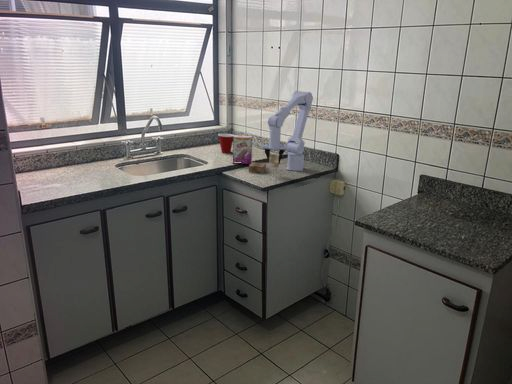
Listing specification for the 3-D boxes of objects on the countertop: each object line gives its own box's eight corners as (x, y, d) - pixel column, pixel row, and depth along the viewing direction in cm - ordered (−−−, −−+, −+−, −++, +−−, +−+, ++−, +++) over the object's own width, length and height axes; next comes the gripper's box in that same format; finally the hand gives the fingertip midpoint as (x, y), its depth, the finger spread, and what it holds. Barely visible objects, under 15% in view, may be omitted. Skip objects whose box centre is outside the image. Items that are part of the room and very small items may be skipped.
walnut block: (265, 169, 239) (266, 163, 237) (262, 173, 231) (262, 166, 230) (252, 168, 241) (252, 161, 239) (248, 172, 233) (248, 165, 232)
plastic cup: (237, 151, 274) (237, 133, 270) (228, 155, 266) (228, 136, 262) (224, 149, 280) (224, 131, 276) (214, 152, 271) (214, 134, 267)
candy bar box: (232, 163, 248) (232, 136, 242) (233, 161, 252) (234, 135, 247) (251, 164, 247) (251, 137, 241) (252, 162, 251) (252, 135, 246)
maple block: (279, 165, 228) (279, 154, 226) (278, 167, 224) (278, 156, 221) (269, 164, 229) (270, 154, 227) (268, 167, 224) (269, 156, 222)
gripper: (260, 139, 218) (259, 164, 223) (288, 140, 216) (286, 165, 221) (262, 136, 225) (261, 160, 229) (289, 137, 223) (287, 162, 228)
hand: (274, 163), depth 226 cm, fingers closed on maple block, 5 cm apart
